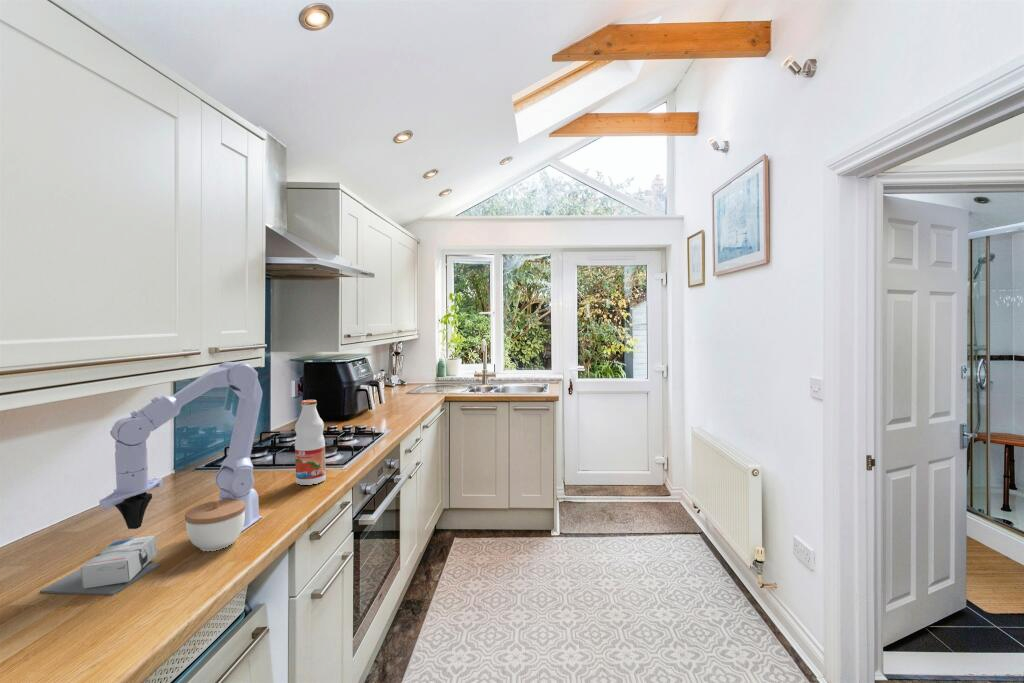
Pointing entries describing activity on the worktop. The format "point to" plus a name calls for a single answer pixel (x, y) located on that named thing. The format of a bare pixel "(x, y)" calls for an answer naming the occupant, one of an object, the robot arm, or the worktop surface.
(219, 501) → the lidded bowl
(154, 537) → the ink box
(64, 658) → the worktop surface
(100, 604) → the worktop surface
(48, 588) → the mat
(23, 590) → the worktop surface
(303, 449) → the fruit juice
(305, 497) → the worktop surface
